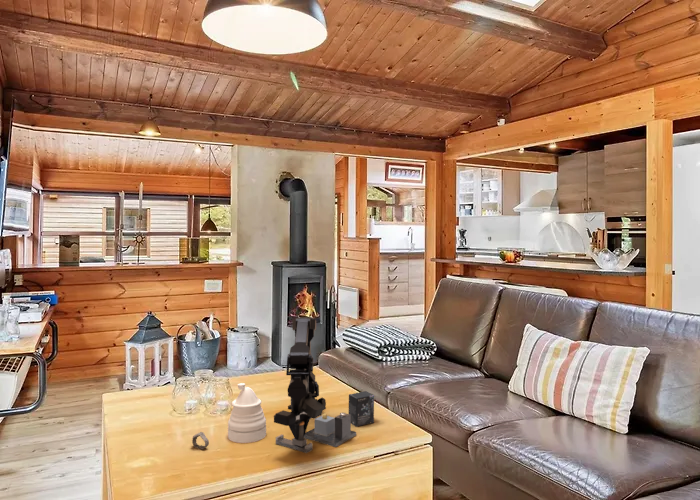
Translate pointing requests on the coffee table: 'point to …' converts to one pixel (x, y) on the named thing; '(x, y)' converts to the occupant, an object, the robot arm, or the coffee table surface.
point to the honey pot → (246, 417)
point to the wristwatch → (202, 438)
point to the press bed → (334, 432)
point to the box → (361, 408)
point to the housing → (324, 424)
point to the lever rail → (288, 443)
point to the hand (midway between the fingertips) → (299, 437)
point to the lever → (300, 436)
